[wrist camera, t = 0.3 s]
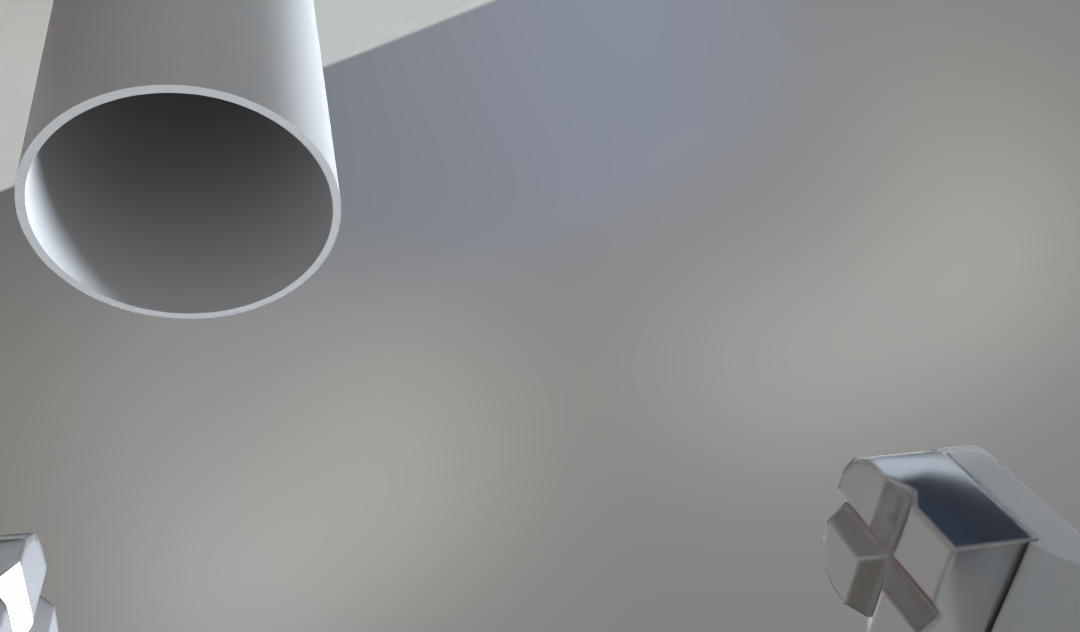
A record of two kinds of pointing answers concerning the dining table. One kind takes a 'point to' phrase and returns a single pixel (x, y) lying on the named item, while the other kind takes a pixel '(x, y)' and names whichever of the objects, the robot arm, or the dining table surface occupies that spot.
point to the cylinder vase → (180, 153)
